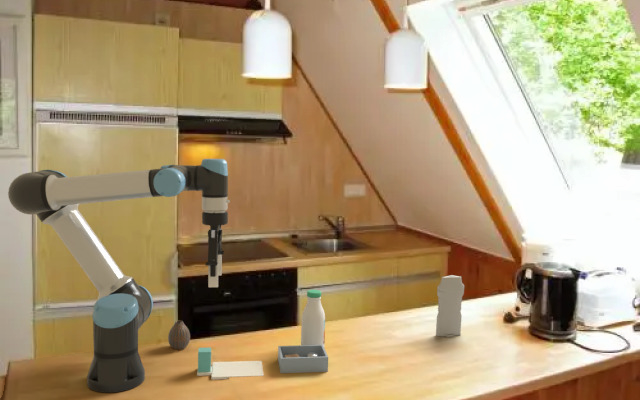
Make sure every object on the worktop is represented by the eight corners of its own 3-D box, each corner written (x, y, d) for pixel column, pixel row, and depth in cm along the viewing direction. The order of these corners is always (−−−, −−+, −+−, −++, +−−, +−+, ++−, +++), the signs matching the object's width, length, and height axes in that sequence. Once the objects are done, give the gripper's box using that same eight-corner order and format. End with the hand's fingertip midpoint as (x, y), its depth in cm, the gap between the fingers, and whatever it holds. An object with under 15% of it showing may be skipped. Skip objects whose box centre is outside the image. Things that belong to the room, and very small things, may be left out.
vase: (190, 343, 188) (190, 317, 188) (189, 351, 182) (190, 324, 181) (168, 344, 187) (168, 318, 186) (167, 352, 180) (167, 325, 179)
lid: (196, 380, 161) (196, 357, 160) (198, 365, 171) (198, 343, 170) (263, 378, 164) (264, 355, 163) (261, 363, 174) (262, 341, 173)
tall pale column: (458, 332, 207) (462, 273, 205) (464, 336, 204) (467, 276, 201) (432, 334, 205) (435, 274, 202) (437, 338, 201) (440, 277, 198)
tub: (280, 375, 166) (281, 358, 165) (277, 361, 176) (278, 345, 175) (327, 373, 168) (328, 357, 167) (322, 360, 178) (322, 344, 177)
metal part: (306, 361, 174) (307, 352, 174) (316, 362, 174) (317, 352, 174) (307, 365, 171) (308, 356, 171) (317, 366, 171) (318, 356, 171)
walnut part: (288, 369, 168) (289, 360, 168) (284, 364, 172) (284, 355, 171) (301, 368, 170) (301, 358, 169) (296, 363, 173) (296, 353, 173)
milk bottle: (321, 356, 181) (323, 295, 179) (298, 353, 182) (299, 293, 180) (326, 347, 188) (328, 289, 186) (303, 345, 190) (305, 287, 188)
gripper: (224, 217, 156) (225, 292, 158) (230, 205, 181) (230, 270, 183) (197, 216, 155) (197, 292, 158) (206, 205, 180) (206, 271, 182)
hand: (215, 281), depth 170 cm, fingers open, 13 cm apart
